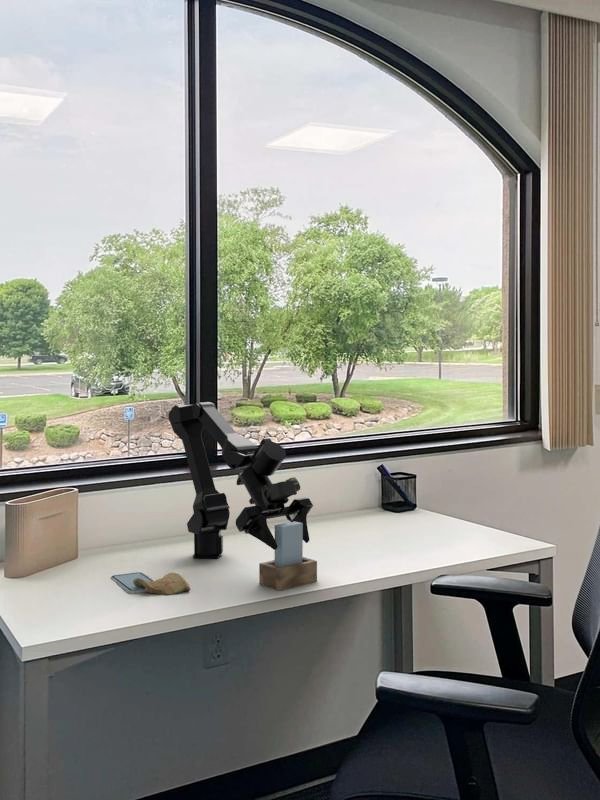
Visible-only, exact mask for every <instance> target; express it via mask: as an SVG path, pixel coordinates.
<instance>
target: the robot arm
mask: <svg viewBox="0 0 600 800" xmlns="http://www.w3.org/2000/svg"><path fill="white" fill-rule="evenodd" d="M168 421H169V423H170V427H171V428H172V431H173V433H174V434H175V435H176V436H177V437H178V439H180V440H181V441H182V444H183V448H184V453H185V457H186V460H187V465H188V468H189V471H190V476H191V480H192V483H193V487H194V488H193V489H194V491H195V497H194V501H193V503H192V511H193V513H192V516H191V517H190V518H189V520H188V521H187V522H186V527H187V532H188V533H191V534H193V544H194V545H193V546H194V547H193V551H194V552H193V554H192V559H193V558H194V559H219V558H220V557H221V556H222V554H223V552H224V536H223V535H222V533H221V532H222V531H226V530H227V529H228V524H229V520H230V516H231V515H230V505H229V504H228V503H229V502H228V500H227V495H226V494H225V492H220V491H218V490H217V488H216V486H215V483H214V482H215V481H214V478H213V475H212V474H213V473H212V472H211V467H210V463H209V460H208V457H207V451H206V448H205V445H204V441H203V437H202V433H203V430H204V428H205V430H207V431H208V433H209V434H210V435H211V437H213V439H214V440H215V441H216V442H217V444H218V445H219V447H220V448H221V457H222V458H223V460H224V461H225V463H226V465H227V466H228V468H229V469H231V470H238V469H243V470H242V472H240V473H238V474H237V479H236V485H237V486H242V485H244V487H245V490H246V491H247V493H248V494H249V496H250V499H249V500H248V502H249V504H250V505H251V506H246V507H244V508H243V509H242V511H241V512H239V513H240V514H239V515H238V516H237V517H236V519H235V526H236V528H237V530H238V532H239V533H240V532H244V533H245V534H246V535H247V534H248V535H250V536H252V537H254V539H255V538H256V539H257V540H259V541H260V542H262V543H264V544H265V545H267V546H268V547H269V548H271V549H272V550H274V551H275V550H276V549H277V548H278V546H277V543H276V541H275V536H274V534H273V533H272V532H271V530H270V528H269V525H268V522H267V520H270V519H277V518H281V517H285V518H286V519H287V520H288V522H289V521H290V522H294V521H296V522H300V523H303V542H305V543H306V544H308V543H309V542H310V535H309V534H310V533H309V528H308V523H307V516H308V514H309V513H310V511H311V510H312V508H313V507H314V504H313V503H312V501H311V499H310V498H309V497H300V498H295V499H293V500H292V501H291V503H290V504H289V505H288V506H285V504H287V503H288V502H289V497H291V496H296V495H297V494H298V492H299V491H300V490H301V485H300V482H299V481H298V479H297V478H296V476H294V477H289V479H285V480H284V481H279V482H276V483H273V482H272V481H271V479H270V477H271V476H273V475H274V474H275V473H276V471H277V470H278V469H279V468H280V465H282V463H283V462H284V460H285V459H286V457H287V453H286V450H285V448H284V447H283V446H281V445H280V444H279V443H277V442H275V441H272V439H271V438H270V437H269V438H268V437H267V438H262V439H261V441H260V442H259V445H258V446H257V444H255V443H254V442H253V441H252V440H251V439H249V438H247V437H246V436H245V437H244V436H242V435H240V434H239V433H237V432H236V430H235V429H234V428H233V426H231V425H230V424H229V422H228V421H227V420H226V419H225V417H224V416H223V415H222V414H221V413H220V411H218V409H217V406H216V405H215V403H213V402H211V401H205V402H196V403H193V404H181V405H180V404H179V405H173V406H172V407H171V410H169V413H168Z"/></svg>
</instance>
